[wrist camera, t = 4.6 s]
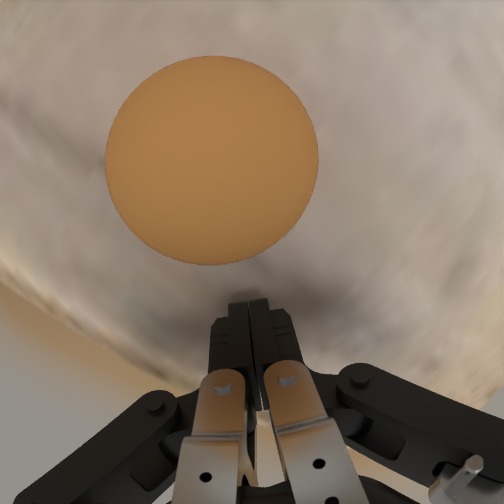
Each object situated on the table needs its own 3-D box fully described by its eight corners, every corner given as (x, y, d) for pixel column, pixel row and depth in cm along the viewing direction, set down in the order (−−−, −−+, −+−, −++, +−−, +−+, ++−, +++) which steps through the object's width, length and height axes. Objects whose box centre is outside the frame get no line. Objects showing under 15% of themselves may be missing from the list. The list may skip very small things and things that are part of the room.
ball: (128, 93, 9) (46, 74, 4) (284, 66, 9) (333, 17, 4) (156, 236, 11) (109, 321, 6) (301, 214, 12) (354, 286, 6)
